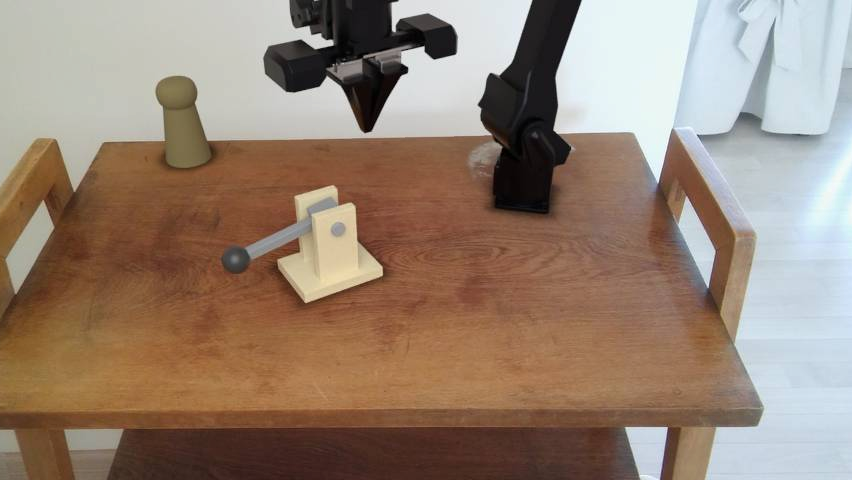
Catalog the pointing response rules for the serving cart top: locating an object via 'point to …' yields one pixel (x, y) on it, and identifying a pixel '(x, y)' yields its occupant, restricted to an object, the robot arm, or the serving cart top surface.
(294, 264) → the switch bracket
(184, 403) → the serving cart top surface
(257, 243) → the switch lever
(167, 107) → the olive pawn
